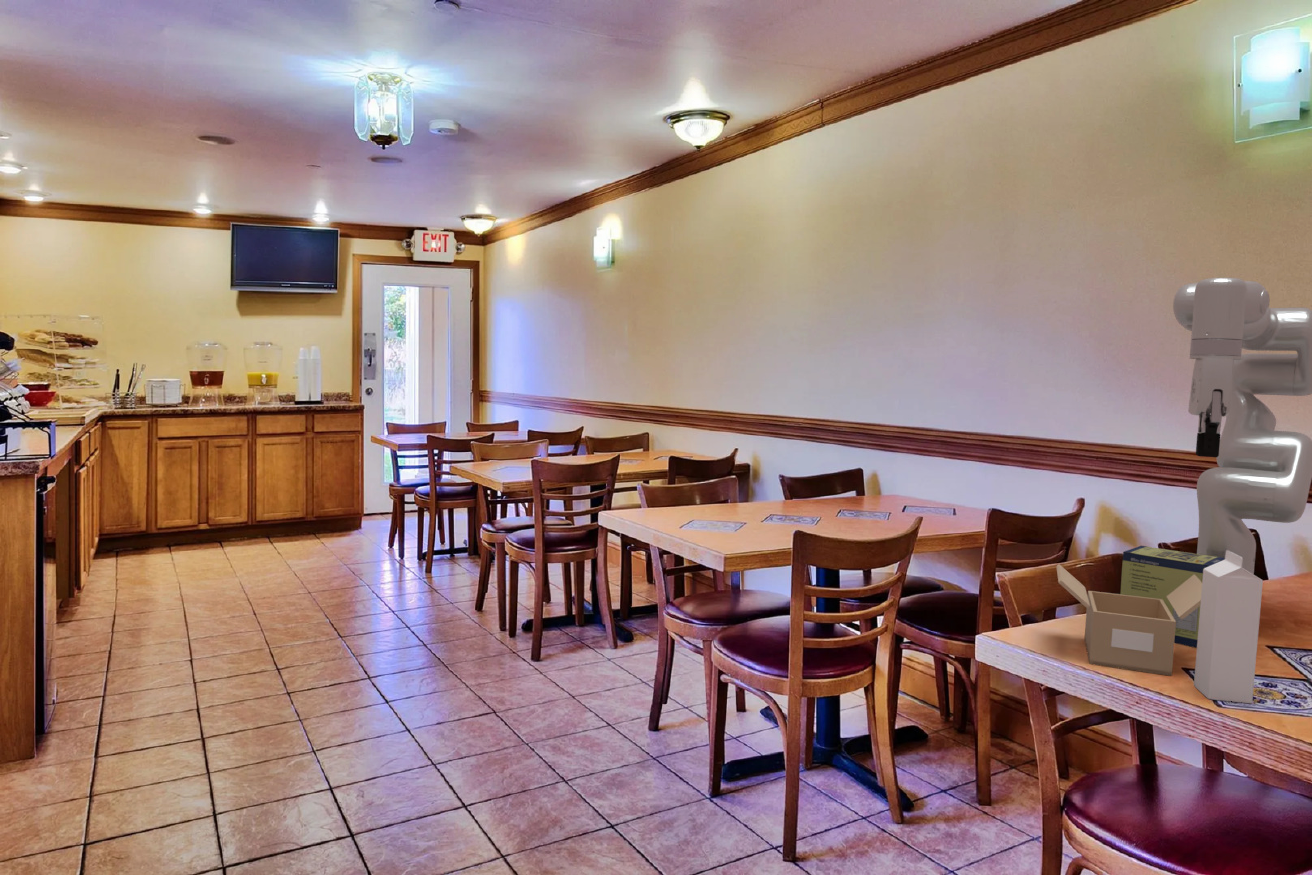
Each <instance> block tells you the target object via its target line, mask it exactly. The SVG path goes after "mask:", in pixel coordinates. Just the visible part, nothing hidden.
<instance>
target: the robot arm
mask: <svg viewBox="0 0 1312 875" xmlns="http://www.w3.org/2000/svg"><path fill="white" fill-rule="evenodd" d="M1172 303H1173V304H1172V307H1173V314H1174V317H1175V319H1176V320H1177V322H1178V323H1179V325H1181V327H1183V328H1184V329H1185V330H1188V331H1190V332H1191V338H1190V350H1189V360H1194V365H1193V372H1192V377H1191V385H1190V393H1189V402H1188V413H1189V414H1191V415H1193V416H1198V427H1197V434H1196V444H1195V445H1196V446H1195V455H1196V456H1197V457H1205V458H1206V457H1207V458H1216V463H1217V466H1218V467H1212V468H1208V469H1206V470H1205V471H1203V472H1202V473H1201V474H1200V475H1199V477H1198V479H1197V483H1196V498H1197V507H1198V509H1197V510H1198V535H1197V537H1198V538H1197V549H1196V554H1200V555H1207V556H1214V557H1221V558H1225V555H1226V550H1228V551H1230V552H1232V553H1234V554H1236V555H1238V556H1240V557H1242V559H1243V561H1242V568H1244V569H1245V570H1247V571H1248V572H1250V573H1252V574H1253V575H1255V574H1254V573H1255V563H1256V562H1255V561H1256V552H1257V542H1256V539H1255V536H1254V535H1253V533H1252V531H1251V530H1250V529H1249V527H1248V526H1247V525H1246V524H1245V522H1244V521H1243V520H1256V521H1265V522H1273V523H1285V524H1288V523H1289V524H1290V523H1295V522H1297V521H1299V520H1300V519H1301V518H1302V516H1303V514H1304V512H1305V509H1306V506H1307V502H1308V498H1309V492H1310V488H1311V484H1312V439H1311V437H1309V436H1308V435H1307V434H1305V433H1301V432H1296V431H1286V430H1275V429H1276V426H1277V418H1276V416H1275V415H1274V413H1273V411H1272V410H1271V409H1270V408H1269V407H1268V406H1267V405H1266V404H1265V403H1264V402H1263V401H1262V400H1260V399H1259V398H1258V397H1256V396H1255V395H1263V396H1264V395H1265V396H1289V397H1303V396H1306V397H1307V396H1311V395H1312V309H1310V308H1309V307H1270V294H1269V292H1268V291H1267V289H1266V288H1265V286H1263V284H1261V283H1259V282H1257V281H1253V280H1243V279H1241V278H1238V277H1212V278H1206V279H1205V278H1204V279H1202V280H1201V279H1200V281H1198V282H1192V283H1187V284H1184V285H1182V286H1181V287H1180V288H1178V289H1177V291H1176V293H1175V295H1174V298H1173V302H1172ZM1243 350H1248V351H1256V352H1257V351H1258V352H1259V351H1262V352H1263V351H1265V352H1266V351H1269V352H1271V351H1273V352H1277V351H1278V352H1282V351H1284V352H1286V351H1287V352H1290V351H1291V352H1296V353H1242V351H1243ZM1222 417H1225V423H1224V426H1223V429H1222V433H1221V426H1222V421H1223V420H1222V419H1223V418H1222ZM1220 433H1221V434H1220Z"/></svg>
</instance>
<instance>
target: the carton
mask: <svg viewBox="0 0 1312 875" xmlns="http://www.w3.org/2000/svg"><path fill="white" fill-rule="evenodd" d="M1087 596H1088V600H1089V604H1090V606H1089V607H1088V608H1086V612H1085V614H1086V615H1085V628H1084V629H1085V630H1084V642H1086V643H1085V647H1087V648H1086V651H1087V652H1088V653H1087V657H1088V662H1089V665H1093V664H1095V666H1100V665H1101V667H1109V668H1114V667H1117V668H1116V669H1121V668H1123V669H1122V670H1127V669H1128V671H1129V670H1130V671H1136V672H1141V671H1142V672H1143V673H1147V674H1149V673H1150V674H1157V675H1163V676H1170V677H1171V676H1173V665H1174V664H1173V663H1174V654H1175V653H1174V651H1175V650H1174V649H1175V643H1174V640H1175V628H1176V621H1175V619H1174V618H1173V616H1172V614H1171V613H1170V611H1169V609H1168V608H1167V606H1166V604H1165V603H1164V601H1163V599H1155V598H1147V597H1138V596H1130V595H1121V594H1120V593H1111V592H1103V591H1101V592H1100V591H1095V590H1088V591H1087ZM1118 667H1119V668H1118Z"/></svg>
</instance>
